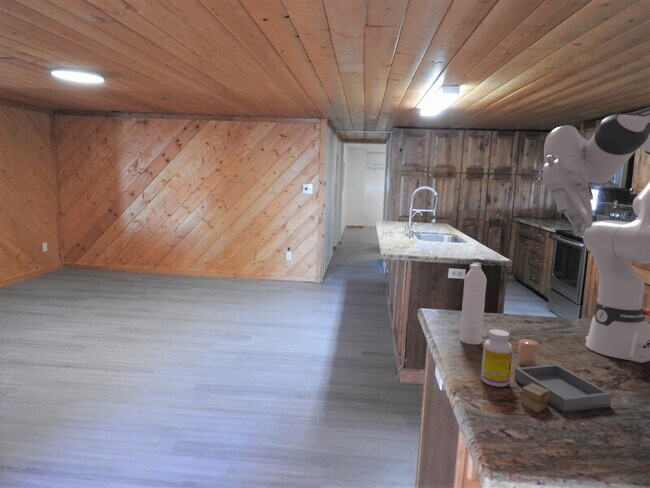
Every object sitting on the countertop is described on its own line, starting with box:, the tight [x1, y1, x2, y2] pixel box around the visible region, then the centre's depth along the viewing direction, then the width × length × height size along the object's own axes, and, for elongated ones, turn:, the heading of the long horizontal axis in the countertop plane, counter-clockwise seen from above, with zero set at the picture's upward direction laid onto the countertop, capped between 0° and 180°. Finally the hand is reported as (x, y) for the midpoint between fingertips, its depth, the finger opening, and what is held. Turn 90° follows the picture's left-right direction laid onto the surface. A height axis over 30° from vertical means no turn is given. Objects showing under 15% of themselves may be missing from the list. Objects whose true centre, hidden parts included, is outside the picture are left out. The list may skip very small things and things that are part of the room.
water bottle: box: [459, 262, 487, 345], centre depth 133 cm, size 9×6×25 cm
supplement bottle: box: [480, 328, 513, 388], centre depth 107 cm, size 7×7×13 cm
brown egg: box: [516, 338, 540, 367], centre depth 119 cm, size 5×5×6 cm
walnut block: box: [520, 383, 549, 413], centre depth 97 cm, size 4×4×4 cm
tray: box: [514, 363, 612, 413], centre depth 103 cm, size 13×16×3 cm
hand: (570, 222), depth 97 cm, fingers open, 8 cm apart
